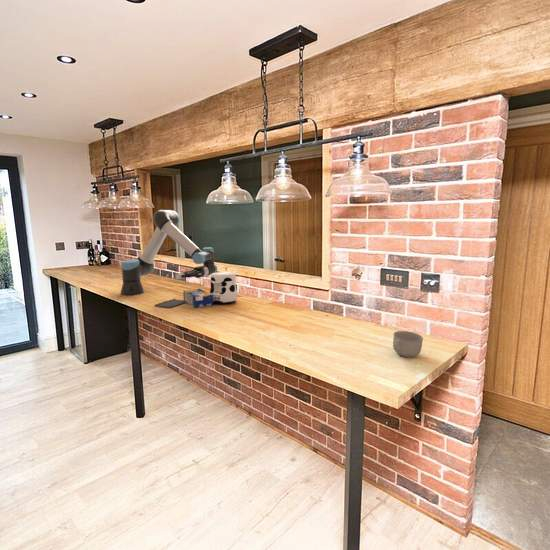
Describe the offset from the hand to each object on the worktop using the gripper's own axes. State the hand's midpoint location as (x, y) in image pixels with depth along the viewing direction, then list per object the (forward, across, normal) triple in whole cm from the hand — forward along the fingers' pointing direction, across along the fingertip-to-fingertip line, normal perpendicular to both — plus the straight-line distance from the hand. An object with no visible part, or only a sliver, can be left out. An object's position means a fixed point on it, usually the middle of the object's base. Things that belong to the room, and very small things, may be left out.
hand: (176, 276), depth 226 cm
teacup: (+31, -139, -17) cm, 143 cm away
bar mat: (+5, 0, -16) cm, 17 cm away
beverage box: (-9, -3, -13) cm, 16 cm away
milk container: (-13, -26, -16) cm, 33 cm away
